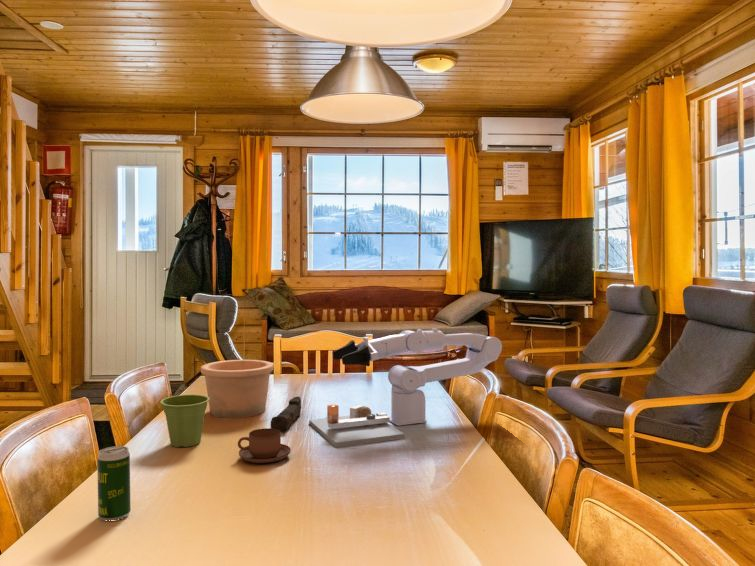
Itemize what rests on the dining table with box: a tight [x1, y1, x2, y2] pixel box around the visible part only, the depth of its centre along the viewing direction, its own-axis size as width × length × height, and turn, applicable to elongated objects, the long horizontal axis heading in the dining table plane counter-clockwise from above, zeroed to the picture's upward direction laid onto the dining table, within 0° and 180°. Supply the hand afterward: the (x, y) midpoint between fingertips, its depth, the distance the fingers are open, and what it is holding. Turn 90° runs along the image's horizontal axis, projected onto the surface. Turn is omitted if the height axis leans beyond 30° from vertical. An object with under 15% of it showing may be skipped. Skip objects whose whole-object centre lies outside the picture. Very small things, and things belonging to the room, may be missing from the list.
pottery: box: [200, 359, 275, 419], centre depth 182 cm, size 22×22×14 cm
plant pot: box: [160, 394, 210, 448], centre depth 150 cm, size 12×12×11 cm
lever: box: [326, 404, 391, 429], centre depth 162 cm, size 18×5×6 cm, turn 113°
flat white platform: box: [308, 404, 406, 448], centre depth 161 cm, size 19×23×4 cm
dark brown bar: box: [270, 396, 302, 433], centre depth 170 cm, size 23×5×6 cm, turn 171°
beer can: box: [96, 445, 132, 521], centre depth 107 cm, size 5×5×12 cm
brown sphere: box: [359, 406, 372, 418], centre depth 169 cm, size 4×4×4 cm
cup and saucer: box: [237, 427, 292, 464], centre depth 139 cm, size 12×12×6 cm
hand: (337, 358), depth 163 cm, fingers open, 7 cm apart
